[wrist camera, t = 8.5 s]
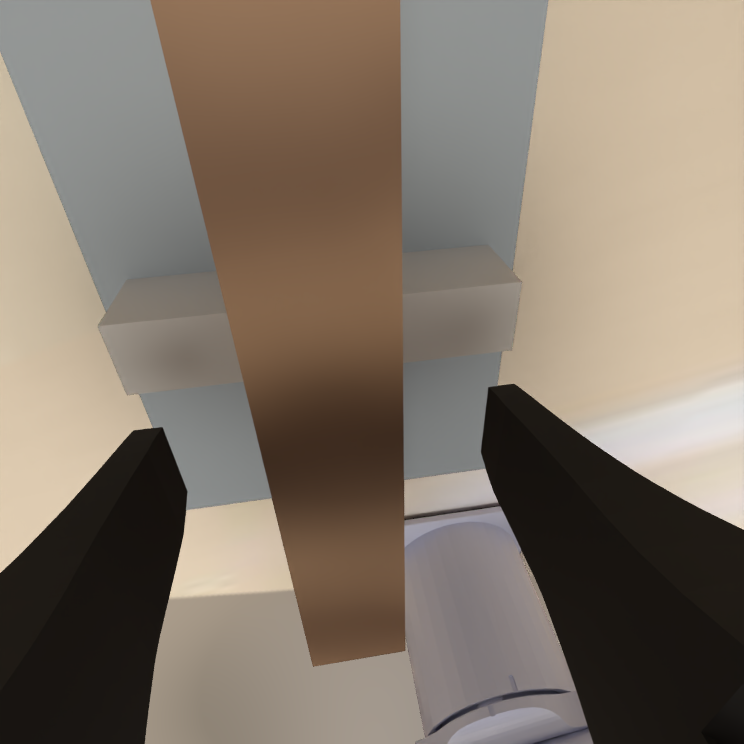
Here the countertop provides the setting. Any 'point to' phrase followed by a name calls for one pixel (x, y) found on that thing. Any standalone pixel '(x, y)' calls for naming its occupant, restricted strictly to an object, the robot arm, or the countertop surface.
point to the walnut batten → (310, 279)
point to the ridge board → (191, 244)
